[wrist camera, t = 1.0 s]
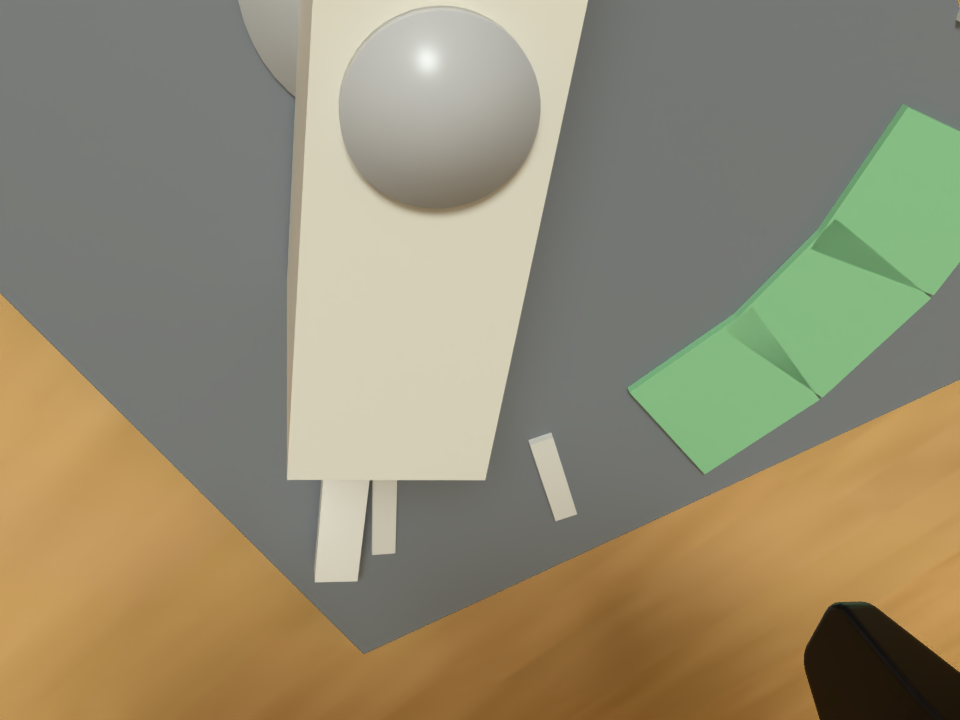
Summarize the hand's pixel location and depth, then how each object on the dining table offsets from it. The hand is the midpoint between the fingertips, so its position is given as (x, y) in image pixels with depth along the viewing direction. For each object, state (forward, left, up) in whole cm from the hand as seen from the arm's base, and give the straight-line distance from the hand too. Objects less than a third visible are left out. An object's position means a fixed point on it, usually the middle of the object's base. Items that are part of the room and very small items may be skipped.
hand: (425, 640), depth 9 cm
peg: (0, -1, -8) cm, 8 cm away
